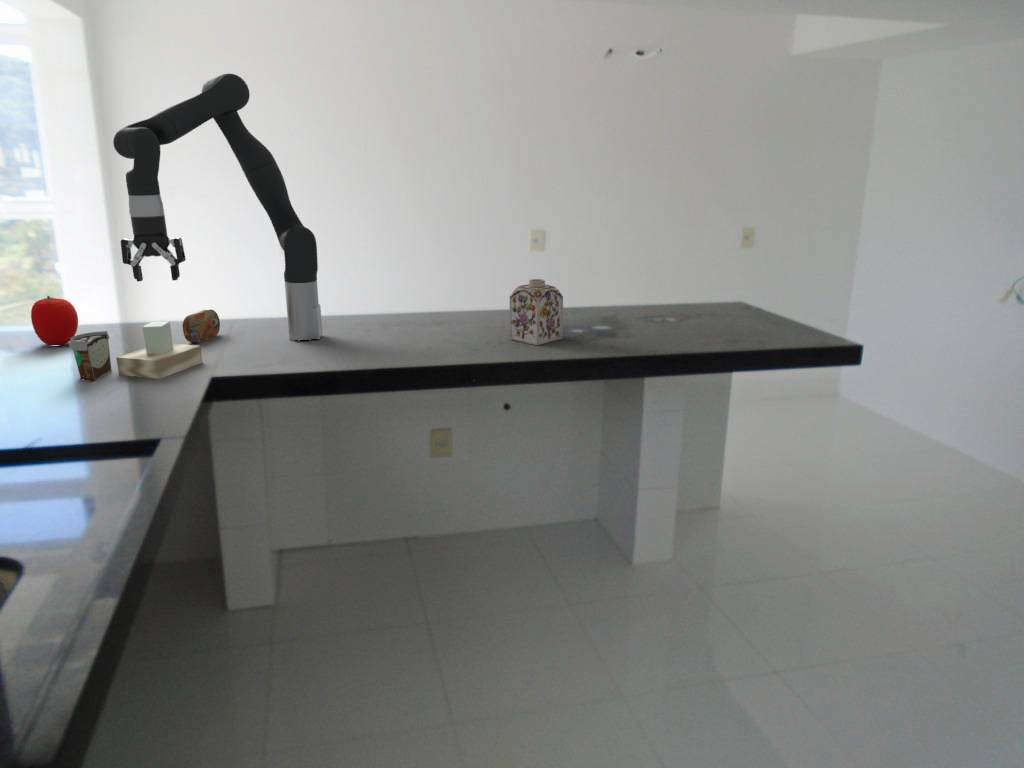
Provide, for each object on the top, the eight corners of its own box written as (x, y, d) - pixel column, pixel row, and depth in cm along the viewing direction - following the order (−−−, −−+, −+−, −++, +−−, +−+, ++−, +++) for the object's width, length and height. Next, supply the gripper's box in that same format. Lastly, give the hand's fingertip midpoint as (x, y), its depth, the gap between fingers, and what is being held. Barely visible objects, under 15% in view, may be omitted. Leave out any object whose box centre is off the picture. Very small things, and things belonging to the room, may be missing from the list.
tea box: (173, 347, 191) (169, 321, 189) (165, 353, 185) (161, 326, 183) (155, 348, 190) (151, 321, 188) (146, 354, 185) (142, 326, 183)
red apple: (30, 344, 213) (21, 295, 209) (73, 337, 221) (65, 290, 217) (44, 351, 205) (35, 301, 200) (88, 344, 212) (80, 296, 208)
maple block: (202, 364, 195) (200, 345, 193) (159, 380, 180) (157, 360, 179) (164, 360, 198) (161, 342, 196) (119, 376, 183) (116, 357, 182)
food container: (89, 369, 188) (82, 331, 185) (114, 369, 188) (108, 330, 185) (65, 383, 176) (57, 342, 173) (92, 382, 176) (85, 342, 173)
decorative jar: (563, 339, 221) (564, 279, 216) (537, 346, 213) (538, 284, 208) (533, 333, 229) (534, 275, 224) (507, 339, 221) (508, 279, 215)
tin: (192, 345, 212) (188, 317, 210) (182, 345, 213) (178, 316, 210) (222, 334, 226) (219, 307, 224) (212, 333, 227) (209, 306, 224)
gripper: (182, 212, 184) (191, 277, 188) (123, 213, 182) (133, 278, 187) (172, 215, 176) (181, 282, 181) (110, 215, 175) (121, 283, 180)
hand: (157, 280), depth 184 cm, fingers open, 8 cm apart
